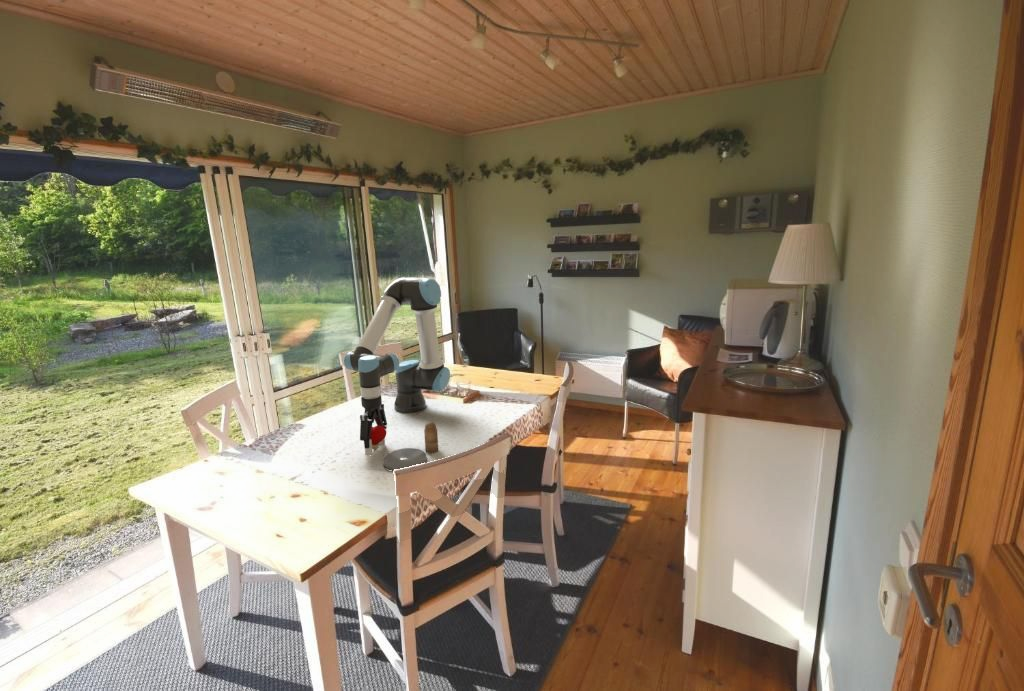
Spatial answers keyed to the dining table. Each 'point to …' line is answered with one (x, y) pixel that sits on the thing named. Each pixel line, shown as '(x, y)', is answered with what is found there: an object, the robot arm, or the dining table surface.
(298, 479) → the dining table surface
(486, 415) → the dining table surface
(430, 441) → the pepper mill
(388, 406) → the dining table surface
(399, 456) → the disc
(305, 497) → the dining table surface
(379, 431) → the red heart
